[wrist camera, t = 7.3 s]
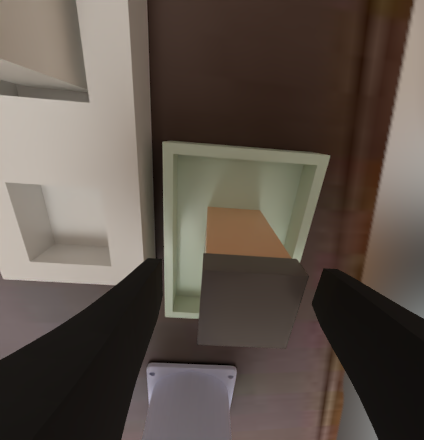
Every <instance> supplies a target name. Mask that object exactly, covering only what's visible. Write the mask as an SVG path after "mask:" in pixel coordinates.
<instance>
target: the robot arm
mask: <svg viewBox="0 0 424 440" xmlns="http://www.w3.org/2000/svg"><path fill="white" fill-rule="evenodd" d="M162 296H163V293H162V259H156V258H147V259H146V260H145V261H144V262H142V263H141V264H140V265H139V266H138V267H137V268H136V269H134V270H133V271H132V272H131V273H130V274H129V275H127V276H126V277H125V278H124V279H123V280H122V281H120V282H119V283H118V284H117V285H116V286H114V287H113V288H112V289H111V290H109V291H108V292H107V293H106V294H104V295H103V296H102V297H100V298H99V299H98V300H96V301H95V302H94V303H92V304H91V305H90V306H88V307H87V308H86V309H84V310H83V311H81V312H80V313H78V314H77V315H75V316H74V317H72V318H71V319H69V320H68V321H66V322H65V323H63V324H61V325H60V326H58V327H57V328H55V329H54V330H52V331H50V332H48V333H47V334H45V335H43V336H42V337H40V338H38V339H36V340H35V341H33V342H31V343H30V344H28V345H26V346H24V347H23V348H21V349H19V350H17V351H16V352H14V353H12V354H10V355H9V356H7V357H5V358H3V359H1V360H0V440H121V438H122V434H123V430H124V426H125V422H126V418H127V414H128V410H129V406H130V402H131V398H132V394H133V390H134V387H135V384H136V380H137V377H138V374H139V371H140V368H141V365H142V362H143V359H144V357H145V354H146V351H147V348H148V345H149V342H150V339H151V336H152V333H153V330H154V327H155V324H156V321H157V318H158V314H159V310H160V305H161V301H162ZM312 306H313V308H314V311H315V314H316V316H317V319H318V321H319V323H320V326H321V328H322V330H323V332H324V333H325V335H326V337H327V339H328V341H329V343H330V344H331V346H332V348H333V350H334V352H335V353H336V355H337V357H338V359H339V360H340V362H341V364H342V366H343V368H344V369H345V371H346V373H347V375H348V376H349V378H350V380H351V382H352V384H353V386H354V388H355V390H356V392H357V394H358V395H359V397H360V400H361V402H362V404H363V406H364V408H365V410H366V413H367V415H368V417H369V419H370V421H371V423H372V426H373V428H374V430H375V433H376V435H377V437H378V440H424V319H423V318H421V317H419V316H418V315H416V314H414V313H412V312H410V311H409V310H407V309H405V308H404V307H401V306H400V305H398V304H397V303H395V302H393V301H392V300H390V299H388V298H386V297H385V296H383V295H381V294H380V293H378V292H376V291H375V290H373V289H371V288H370V287H368V286H366V285H364V284H363V283H361V282H360V281H358V280H356V279H355V278H353V277H351V276H349V275H347V274H346V273H344V272H342V271H340V270H338V269H325V268H324V269H323V272H322V275H321V278H320V281H319V284H318V286H317V289H316V292H315V295H314V298H313V301H312ZM236 375H237V371H236V367H234V366H228V365H203V364H178V363H149V364H148V366H147V384H148V398H149V409H148V414H147V418H146V423H145V427H144V432H143V436H142V440H232V438H231V424H230V406H231V401H232V395H233V390H234V385H235V380H236Z"/></svg>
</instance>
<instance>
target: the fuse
mask: <svg viewBox="0 0 424 440" xmlns="http://www.w3.org/2000/svg"><path fill="white" fill-rule="evenodd" d="M0 80H3V81H7V82H11V83H14V84H18V85H22V86H26V87H32V88H43V89H54V90H66V91H77V92H88V87H87V80H86V72H85V65H84V57H83V50H82V42H81V35H80V27H79V20H78V12H77V5H76V0H0Z"/></svg>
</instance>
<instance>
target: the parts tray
mask: <svg viewBox="0 0 424 440" xmlns="http://www.w3.org/2000/svg"><path fill="white" fill-rule="evenodd" d="M162 151H163V216H164V282H165V317H173V318H194V319H199V307H200V293H201V279H202V265H203V253H204V248H205V234H206V221H207V207H221V208H235V209H249V210H260V211H261V212H262V214H263V215H264V217H265V218H266V220H267V221H268V223H269V225H270V226H271V228H272V229H273V231H274V232H275V234H276V235H277V237H278V238H279V240H280V241H281V243H282V244H283V246H284V247H285V249H286V250H287V252H288V254H289V255H290V257H291V258H292V259H297V260H298V261H299V263H300V261H301V257H302V254H303V250H304V247H305V243H306V240H307V236H308V233H309V229H310V226H311V222H312V219H313V215H314V212H315V208H316V205H317V201H318V198H319V194H320V191H321V187H322V184H323V180H324V177H325V173H326V170H327V166H328V163H329V159H330V156H331V155H326V154H320V153H314V152H306V151H293V150H281V149H269V148H256V147H244V146H232V145H219V144H207V143H195V142H182V141H164V142H162Z"/></svg>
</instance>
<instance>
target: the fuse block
mask: <svg viewBox="0 0 424 440" xmlns="http://www.w3.org/2000/svg"><path fill="white" fill-rule="evenodd" d="M76 5H77V12H78V20H79V27H80V35H81V42H82V50H83V57H84V65H85V72H86V80H87V87H88V92H77V91H66V90H54V89H43V88H32V87H26V86H22V85H18V84H14V83H11V82H7V81H3V80H0V272H1V274H2V277H3V279H10V280H29V281H47V282H66V283H85V284H103V285H117V284H118V283H119V282H120V281H122V280H123V279H124V278H125V277H126V276H127V275H129V274H130V273H131V272H132V271H133V270H134V269H136V268H137V267H138V266H139V265H140V264H141V263H142V262H144V261H145V260H146V259H147V258H156V249H155V219H154V189H153V159H152V130H151V100H150V70H149V40H148V10H147V0H76Z"/></svg>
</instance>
